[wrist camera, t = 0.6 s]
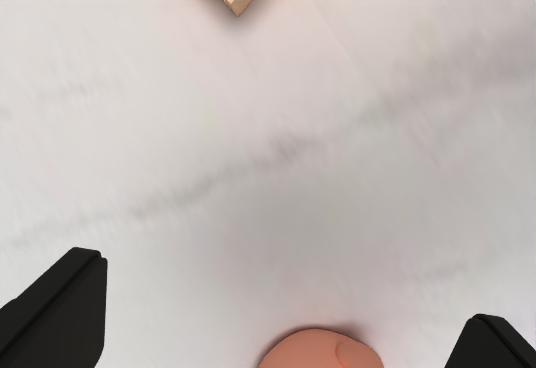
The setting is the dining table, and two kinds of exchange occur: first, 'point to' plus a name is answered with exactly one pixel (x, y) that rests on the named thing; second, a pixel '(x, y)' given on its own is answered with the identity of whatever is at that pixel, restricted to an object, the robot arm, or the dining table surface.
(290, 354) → the teapot
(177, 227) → the dining table surface
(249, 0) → the collar
